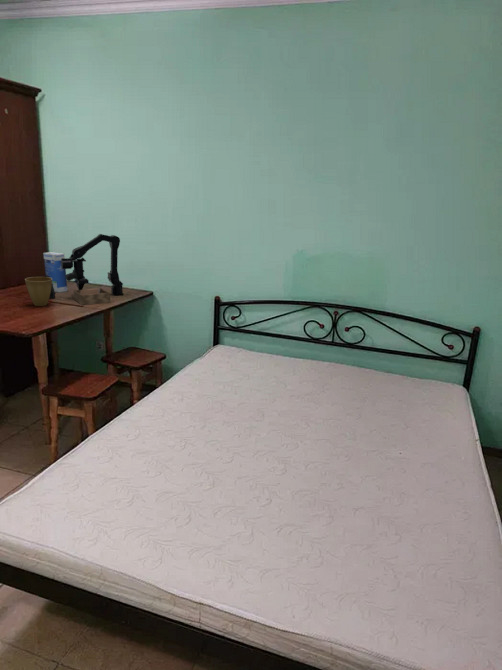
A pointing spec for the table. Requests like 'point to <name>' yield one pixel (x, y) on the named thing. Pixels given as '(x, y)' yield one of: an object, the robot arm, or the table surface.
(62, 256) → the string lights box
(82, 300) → the crate
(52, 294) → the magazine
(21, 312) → the table surface
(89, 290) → the door
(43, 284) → the plant pot
